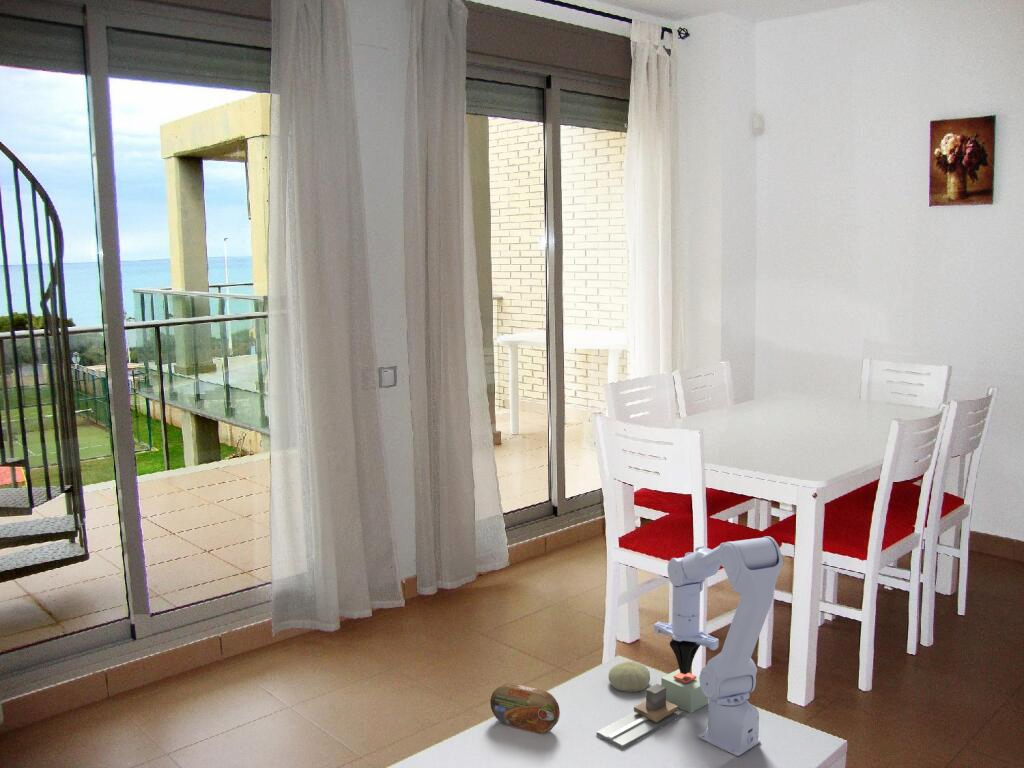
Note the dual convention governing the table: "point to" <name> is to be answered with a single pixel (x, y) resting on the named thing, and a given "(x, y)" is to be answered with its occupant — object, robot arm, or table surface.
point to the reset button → (685, 677)
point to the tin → (525, 708)
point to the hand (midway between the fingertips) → (685, 671)
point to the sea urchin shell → (629, 676)
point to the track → (633, 728)
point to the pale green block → (684, 693)
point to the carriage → (656, 704)
